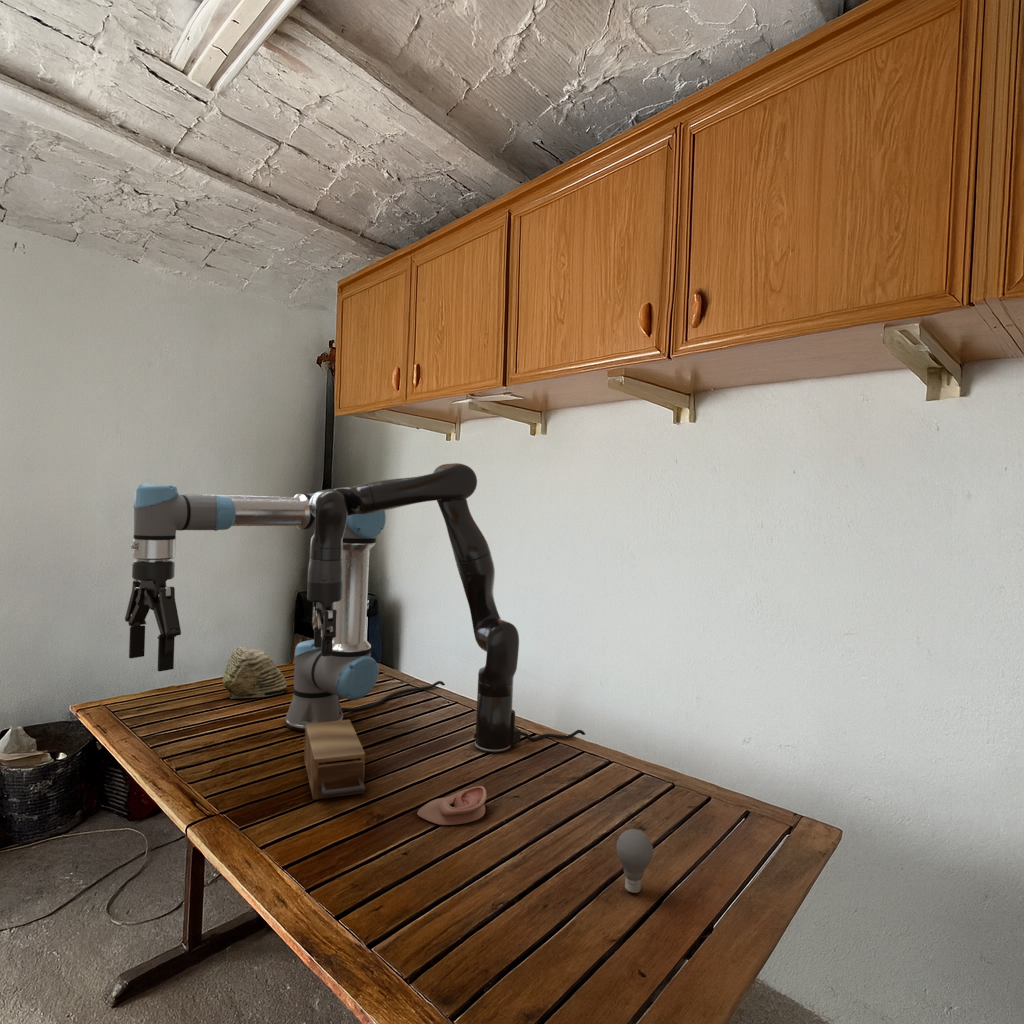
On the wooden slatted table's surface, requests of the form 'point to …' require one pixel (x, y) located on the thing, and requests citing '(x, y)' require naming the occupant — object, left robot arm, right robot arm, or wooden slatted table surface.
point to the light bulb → (634, 857)
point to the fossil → (252, 674)
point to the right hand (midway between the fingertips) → (322, 651)
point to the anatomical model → (456, 807)
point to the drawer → (340, 778)
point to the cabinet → (329, 747)
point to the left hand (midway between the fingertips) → (150, 663)
